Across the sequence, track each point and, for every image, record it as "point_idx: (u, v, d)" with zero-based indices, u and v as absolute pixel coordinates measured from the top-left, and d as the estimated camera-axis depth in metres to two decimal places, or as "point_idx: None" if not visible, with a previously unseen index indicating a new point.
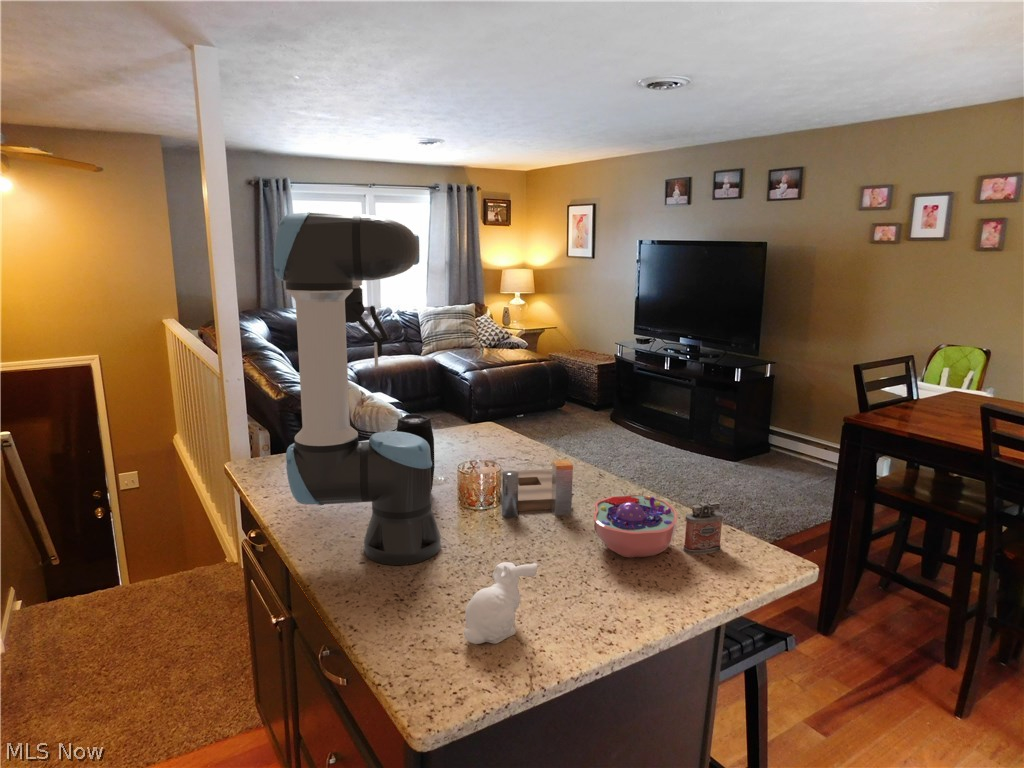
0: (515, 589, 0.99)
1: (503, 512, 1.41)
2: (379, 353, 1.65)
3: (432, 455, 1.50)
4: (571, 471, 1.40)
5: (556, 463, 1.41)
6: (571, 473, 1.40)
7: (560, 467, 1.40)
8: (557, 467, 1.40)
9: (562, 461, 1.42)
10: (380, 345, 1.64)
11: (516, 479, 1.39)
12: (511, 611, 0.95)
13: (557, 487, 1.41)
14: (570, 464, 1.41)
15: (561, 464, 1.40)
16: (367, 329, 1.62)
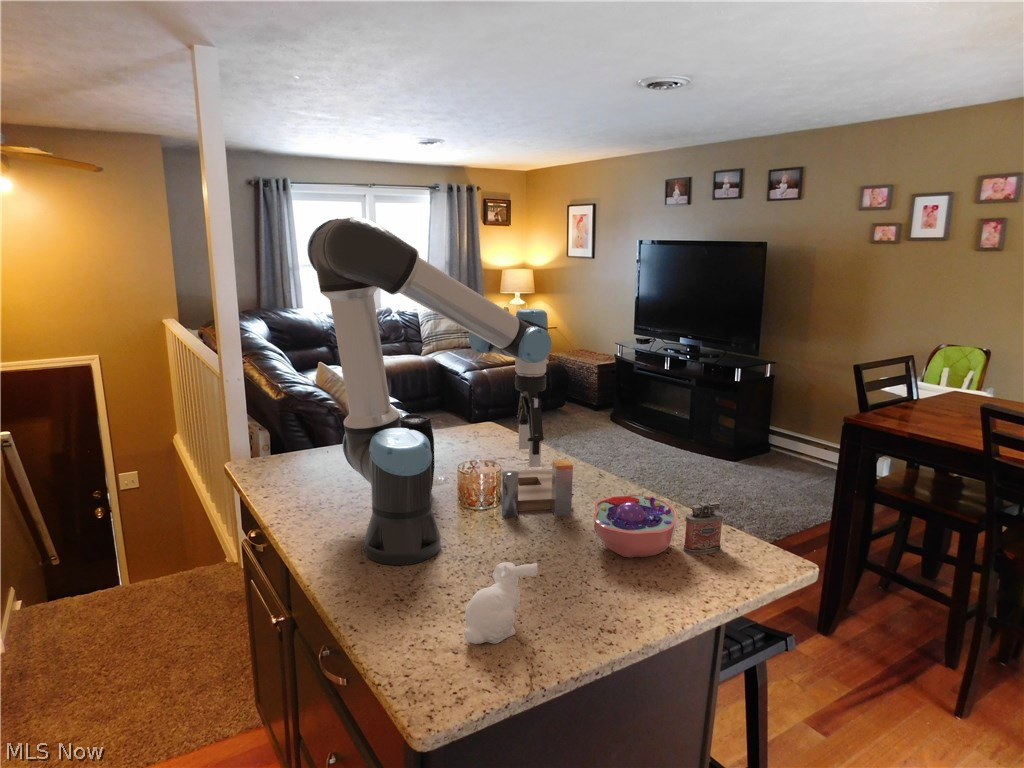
0: (515, 589, 0.99)
1: (503, 512, 1.41)
2: (532, 452, 1.47)
3: (432, 455, 1.50)
4: (571, 471, 1.40)
5: (556, 463, 1.41)
6: (571, 473, 1.40)
7: (560, 467, 1.40)
8: (557, 467, 1.40)
9: (562, 461, 1.42)
10: (533, 443, 1.46)
11: (516, 479, 1.39)
12: (511, 611, 0.95)
13: (557, 487, 1.41)
14: (570, 464, 1.41)
15: (561, 464, 1.40)
16: (528, 422, 1.48)
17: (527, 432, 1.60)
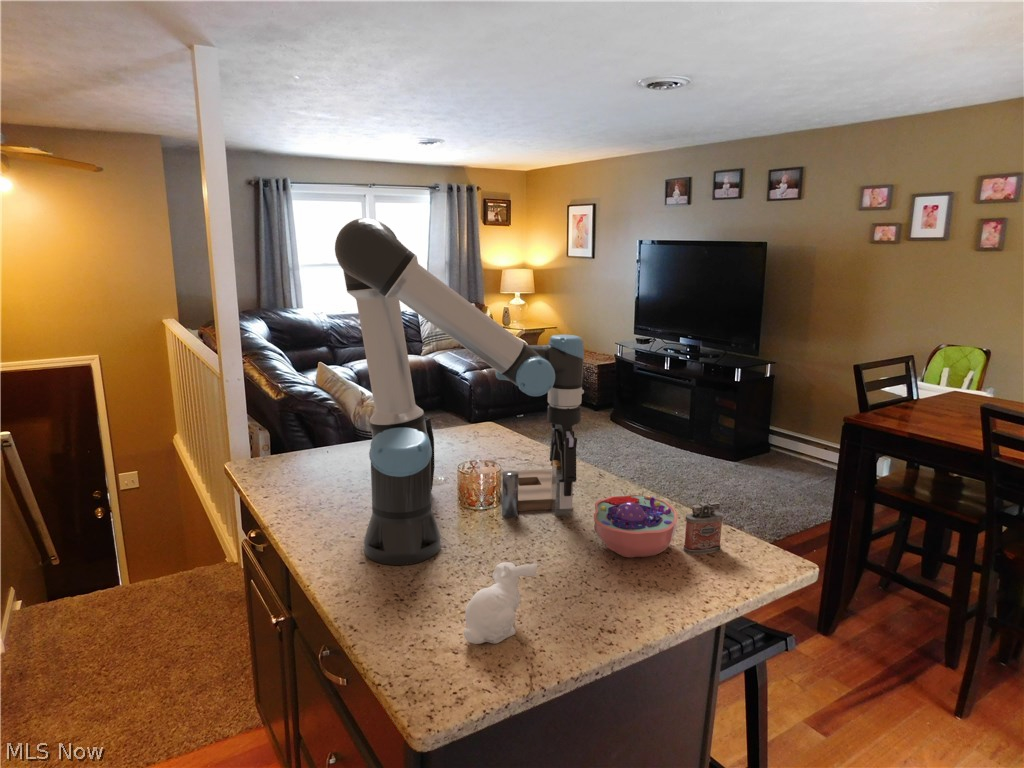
0: (515, 589, 0.99)
1: (503, 512, 1.41)
2: (564, 493, 1.38)
3: (432, 455, 1.50)
4: None
5: (556, 463, 1.41)
6: None
7: (560, 467, 1.40)
8: (557, 467, 1.40)
9: None
10: (565, 484, 1.37)
11: (516, 479, 1.39)
12: (511, 611, 0.95)
13: (557, 487, 1.41)
14: None
15: None
16: (561, 460, 1.38)
17: None
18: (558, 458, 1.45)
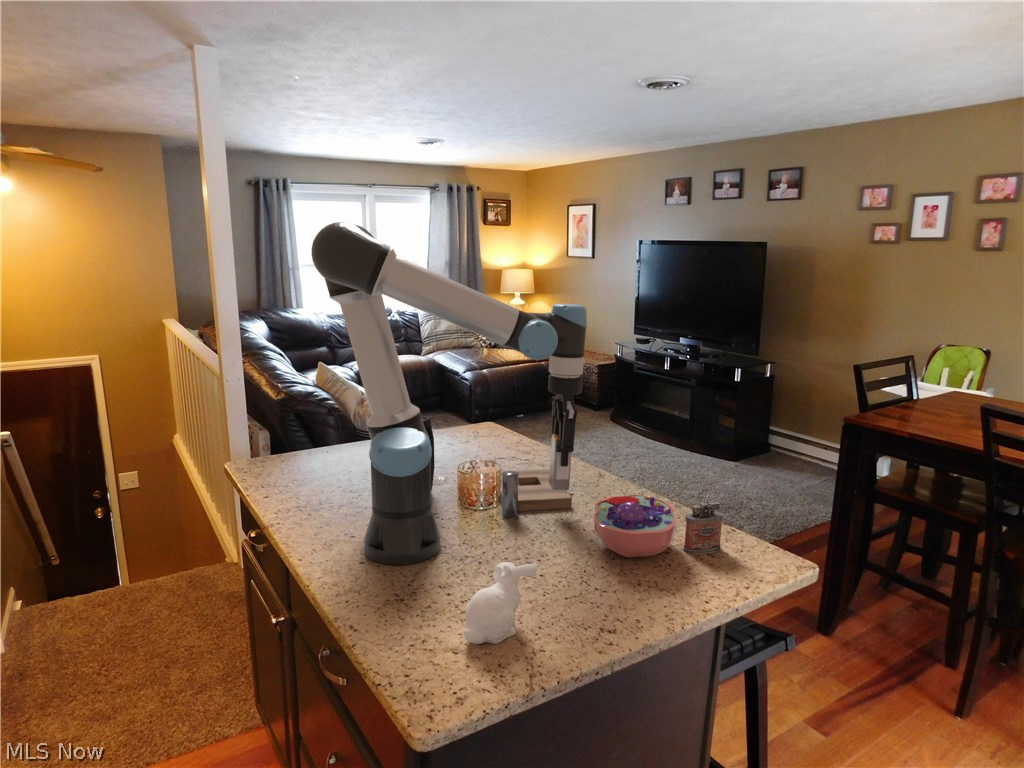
0: (515, 589, 0.99)
1: (503, 512, 1.41)
2: (561, 463, 1.38)
3: (432, 455, 1.50)
4: None
5: (555, 436, 1.40)
6: None
7: None
8: (556, 440, 1.38)
9: None
10: (562, 455, 1.37)
11: (516, 479, 1.39)
12: (511, 611, 0.95)
13: (556, 461, 1.39)
14: None
15: None
16: (559, 430, 1.38)
17: None
18: None
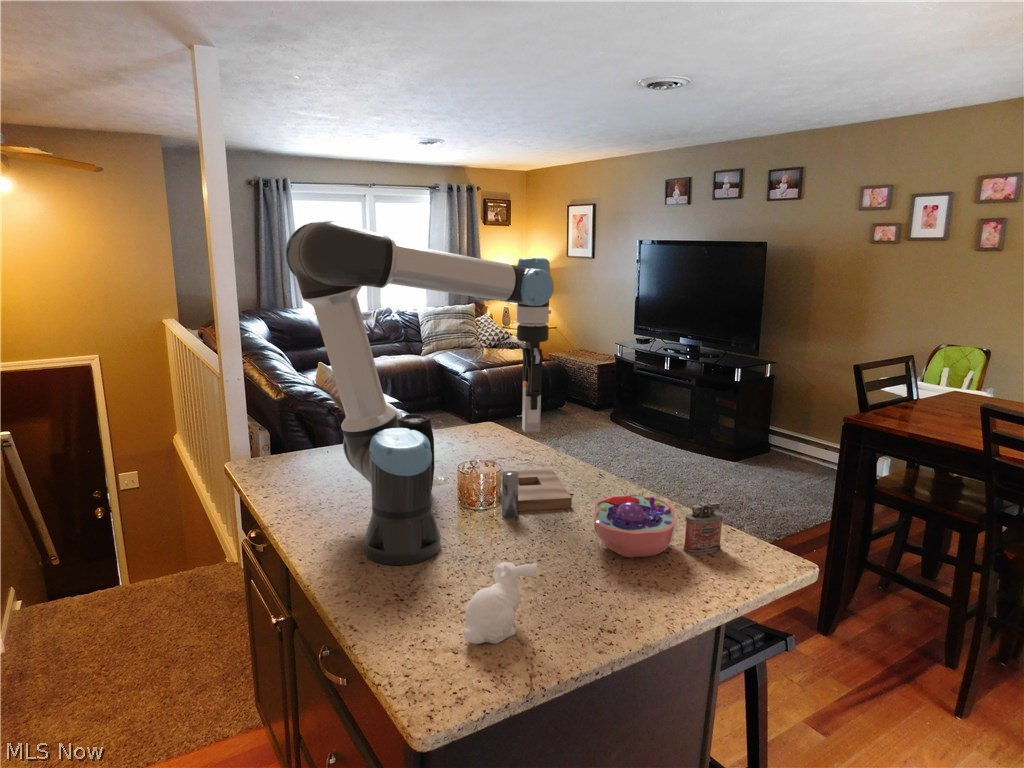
0: (515, 589, 0.99)
1: (503, 512, 1.41)
2: (530, 407, 1.49)
3: (432, 455, 1.50)
4: None
5: (526, 382, 1.50)
6: None
7: None
8: (526, 385, 1.49)
9: None
10: (531, 399, 1.48)
11: (516, 479, 1.39)
12: (511, 611, 0.95)
13: (526, 405, 1.50)
14: None
15: None
16: (528, 375, 1.48)
17: None
18: None
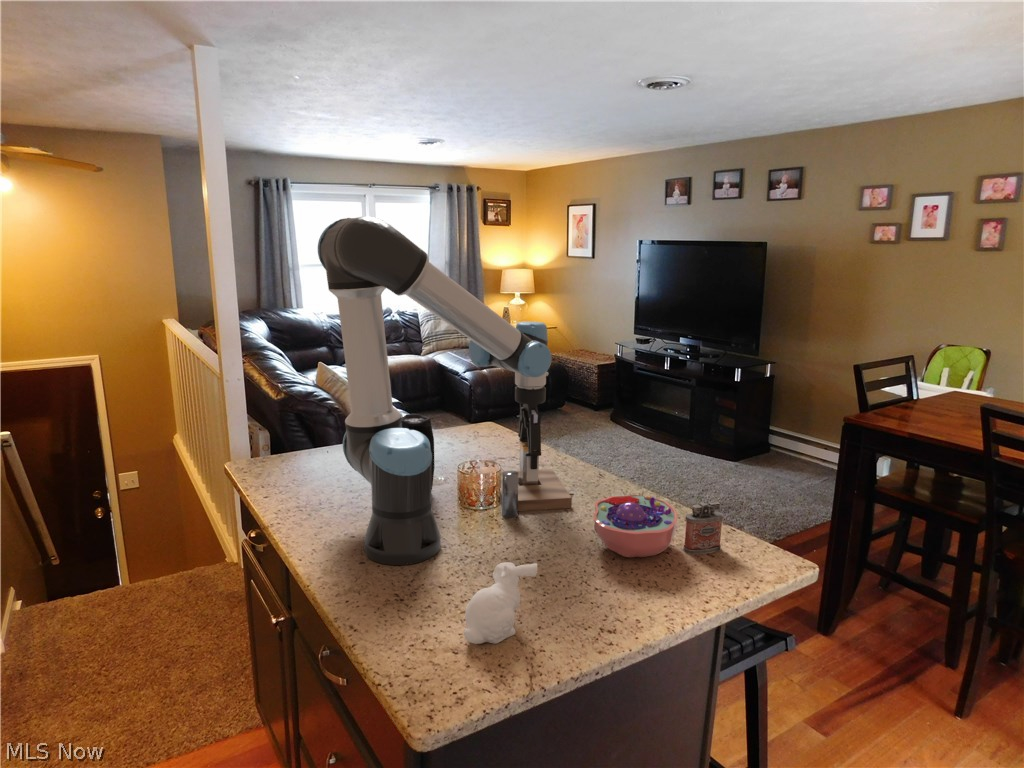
0: (515, 589, 0.99)
1: (503, 512, 1.41)
2: (530, 466, 1.49)
3: (432, 455, 1.50)
4: None
5: (523, 445, 1.54)
6: None
7: (527, 449, 1.52)
8: (524, 449, 1.52)
9: None
10: (531, 458, 1.49)
11: (516, 479, 1.39)
12: (511, 611, 0.95)
13: (524, 467, 1.53)
14: None
15: None
16: (527, 436, 1.50)
17: None
18: (525, 434, 1.58)
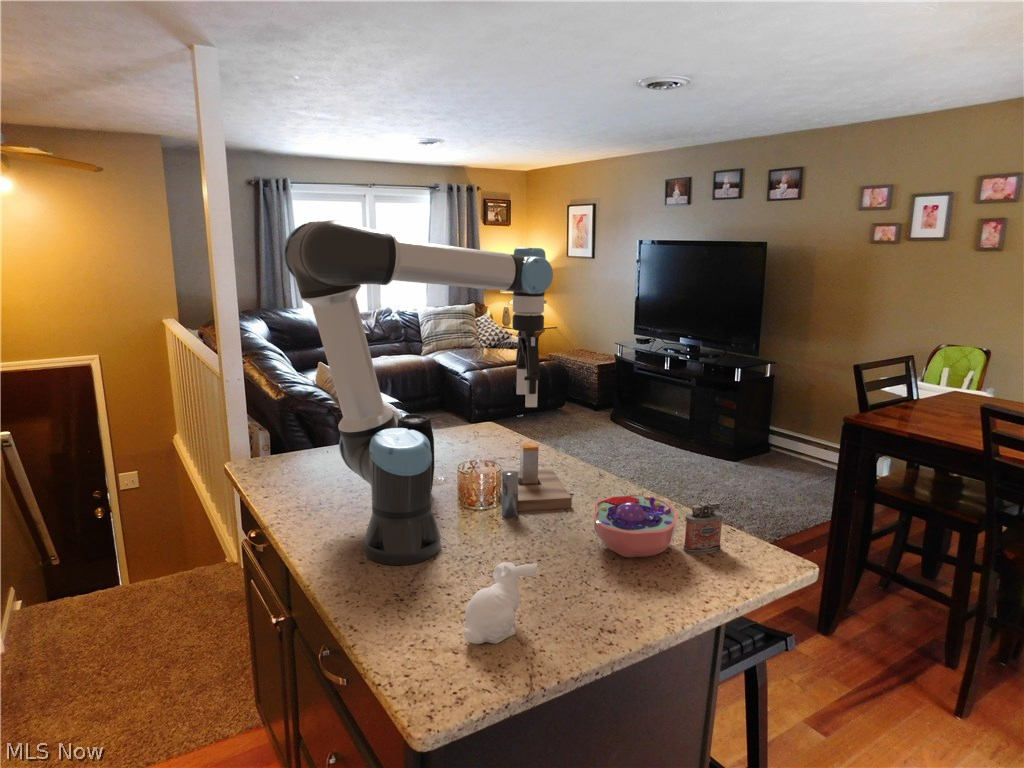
0: (515, 589, 0.99)
1: (503, 512, 1.41)
2: (529, 391, 1.45)
3: (432, 455, 1.50)
4: (537, 452, 1.53)
5: (523, 445, 1.54)
6: (537, 454, 1.53)
7: (527, 449, 1.52)
8: (524, 449, 1.52)
9: (529, 444, 1.55)
10: (529, 382, 1.44)
11: (516, 479, 1.39)
12: (511, 611, 0.95)
13: (524, 467, 1.53)
14: (536, 446, 1.53)
15: (528, 446, 1.53)
16: (525, 362, 1.46)
17: (525, 377, 1.59)
18: (523, 362, 1.57)
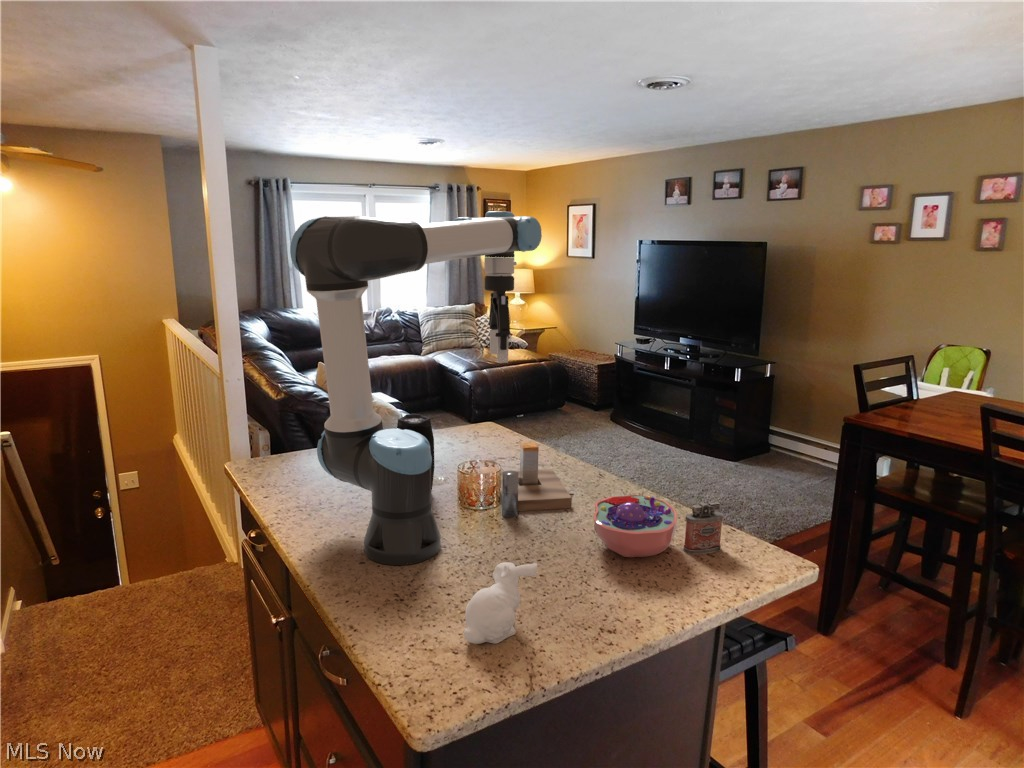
0: (515, 589, 0.99)
1: (503, 512, 1.41)
2: (500, 347, 1.53)
3: (432, 455, 1.50)
4: (537, 452, 1.53)
5: (523, 445, 1.54)
6: (537, 454, 1.53)
7: (527, 449, 1.52)
8: (524, 449, 1.52)
9: (529, 444, 1.55)
10: (500, 339, 1.53)
11: (516, 479, 1.39)
12: (511, 611, 0.95)
13: (524, 467, 1.53)
14: (536, 446, 1.53)
15: (528, 446, 1.53)
16: (497, 320, 1.55)
17: None
18: (495, 322, 1.66)
